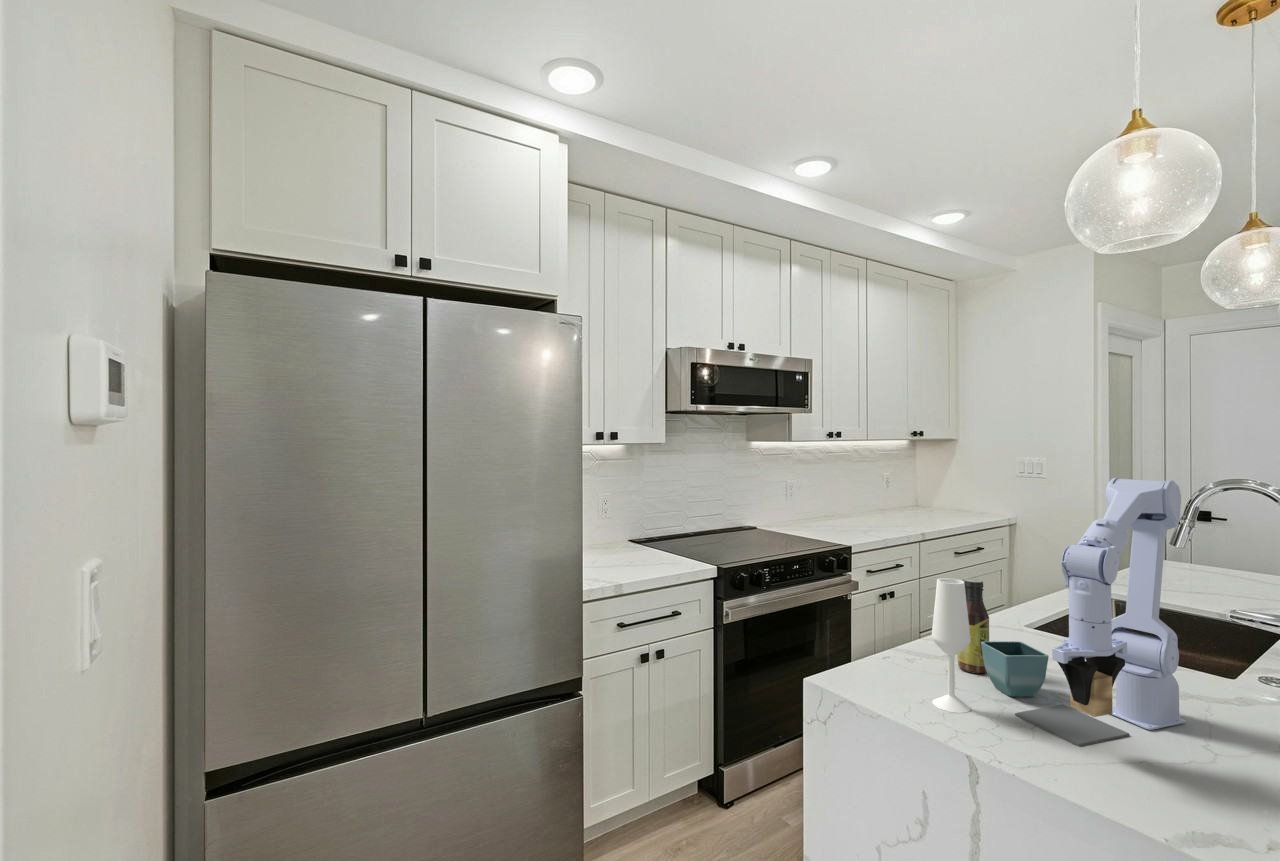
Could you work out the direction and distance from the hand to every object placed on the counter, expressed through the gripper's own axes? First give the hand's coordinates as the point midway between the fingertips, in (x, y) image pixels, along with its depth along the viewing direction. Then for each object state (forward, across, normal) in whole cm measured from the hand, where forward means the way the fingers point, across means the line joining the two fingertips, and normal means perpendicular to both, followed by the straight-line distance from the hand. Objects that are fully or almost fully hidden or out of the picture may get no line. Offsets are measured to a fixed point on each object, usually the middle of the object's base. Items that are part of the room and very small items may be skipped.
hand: (1090, 700), depth 101 cm
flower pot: (+9, -9, -22) cm, 25 cm away
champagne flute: (+8, +8, -21) cm, 24 cm away
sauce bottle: (+9, -11, -34) cm, 36 cm away
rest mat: (+8, -6, -8) cm, 13 cm away
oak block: (+2, 0, 0) cm, 2 cm away
